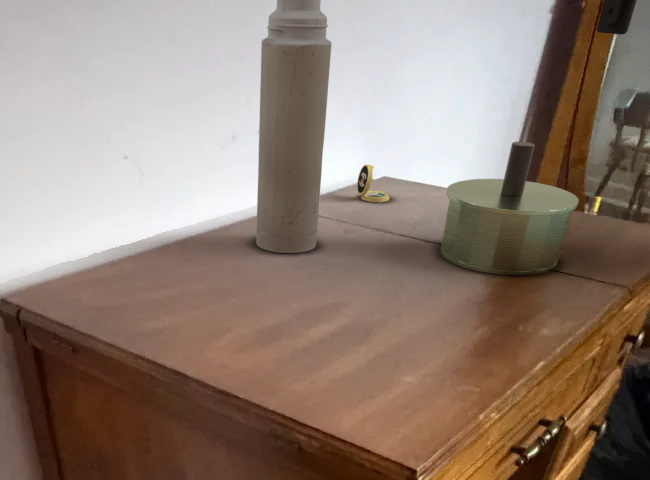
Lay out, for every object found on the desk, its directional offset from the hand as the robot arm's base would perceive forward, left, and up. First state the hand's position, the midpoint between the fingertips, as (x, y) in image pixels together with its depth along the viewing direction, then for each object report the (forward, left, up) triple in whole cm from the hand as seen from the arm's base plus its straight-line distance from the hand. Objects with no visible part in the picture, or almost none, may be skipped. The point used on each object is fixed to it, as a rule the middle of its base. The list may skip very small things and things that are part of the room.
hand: (639, 31), depth 75 cm
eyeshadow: (-1, -38, -24) cm, 45 cm away
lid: (+4, -8, -17) cm, 20 cm away
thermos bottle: (+25, -26, -24) cm, 44 cm away
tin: (+4, -8, -24) cm, 26 cm away
